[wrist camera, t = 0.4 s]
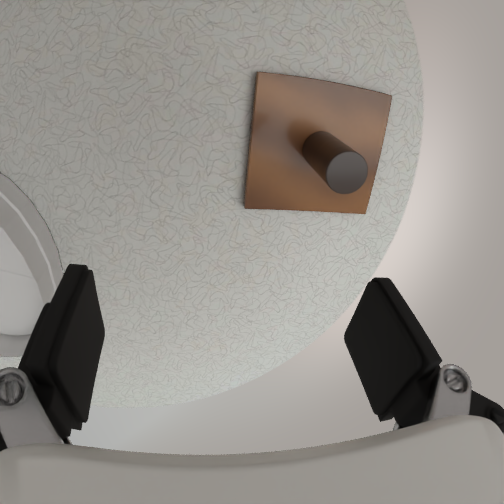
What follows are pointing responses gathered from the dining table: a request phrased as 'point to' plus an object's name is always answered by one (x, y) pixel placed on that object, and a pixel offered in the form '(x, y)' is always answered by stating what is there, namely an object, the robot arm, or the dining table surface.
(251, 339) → the dining table surface
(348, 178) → the square peg stand
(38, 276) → the dish
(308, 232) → the dining table surface
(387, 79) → the dining table surface
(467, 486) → the robot arm
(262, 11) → the dining table surface
